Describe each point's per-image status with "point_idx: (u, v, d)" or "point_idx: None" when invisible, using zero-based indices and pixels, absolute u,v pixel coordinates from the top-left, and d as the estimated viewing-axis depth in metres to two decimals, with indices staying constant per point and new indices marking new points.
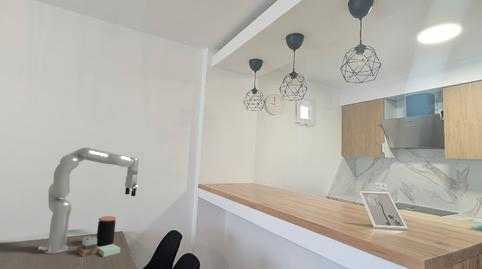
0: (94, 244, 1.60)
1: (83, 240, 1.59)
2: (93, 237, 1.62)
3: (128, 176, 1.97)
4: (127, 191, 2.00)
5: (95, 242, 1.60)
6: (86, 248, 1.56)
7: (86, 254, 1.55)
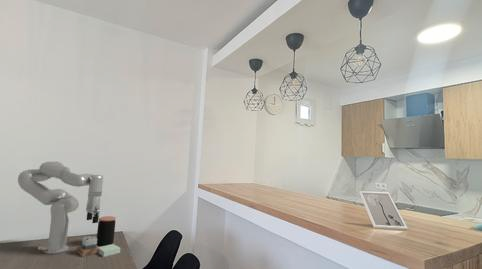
0: (94, 244, 1.60)
1: (83, 240, 1.59)
2: (93, 237, 1.62)
3: (89, 198, 1.61)
4: (89, 216, 1.65)
5: (95, 242, 1.60)
6: (86, 248, 1.56)
7: (86, 254, 1.55)
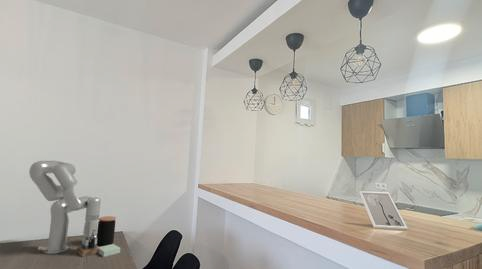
0: None
1: (83, 240, 1.59)
2: None
3: (86, 222, 1.60)
4: None
5: (95, 242, 1.60)
6: (86, 248, 1.56)
7: (86, 254, 1.55)
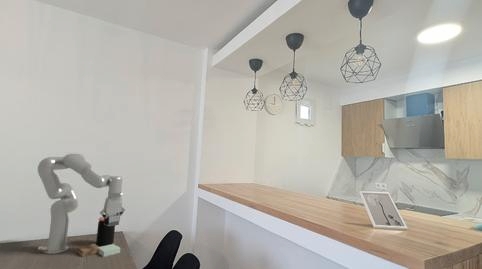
0: None
1: None
2: (112, 215, 1.62)
3: None
4: None
5: (108, 220, 1.60)
6: None
7: (86, 254, 1.55)
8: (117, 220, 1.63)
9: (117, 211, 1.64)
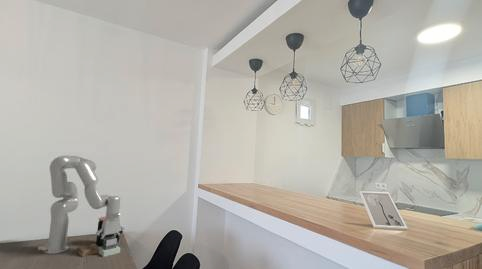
0: (105, 245, 1.59)
1: None
2: (109, 238, 1.61)
3: None
4: None
5: (105, 244, 1.58)
6: (102, 246, 1.61)
7: (86, 254, 1.55)
8: (114, 243, 1.62)
9: (115, 232, 1.63)
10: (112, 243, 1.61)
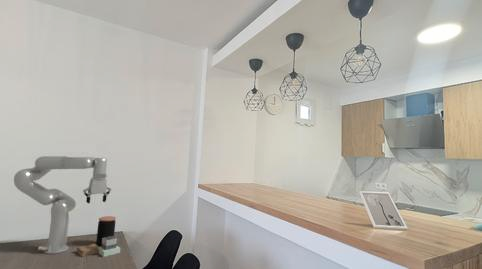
0: (105, 245, 1.59)
1: None
2: (109, 238, 1.61)
3: None
4: (103, 198, 1.71)
5: (105, 244, 1.58)
6: (102, 246, 1.61)
7: (86, 254, 1.55)
8: (114, 243, 1.62)
9: (102, 191, 1.69)
10: (112, 243, 1.61)
